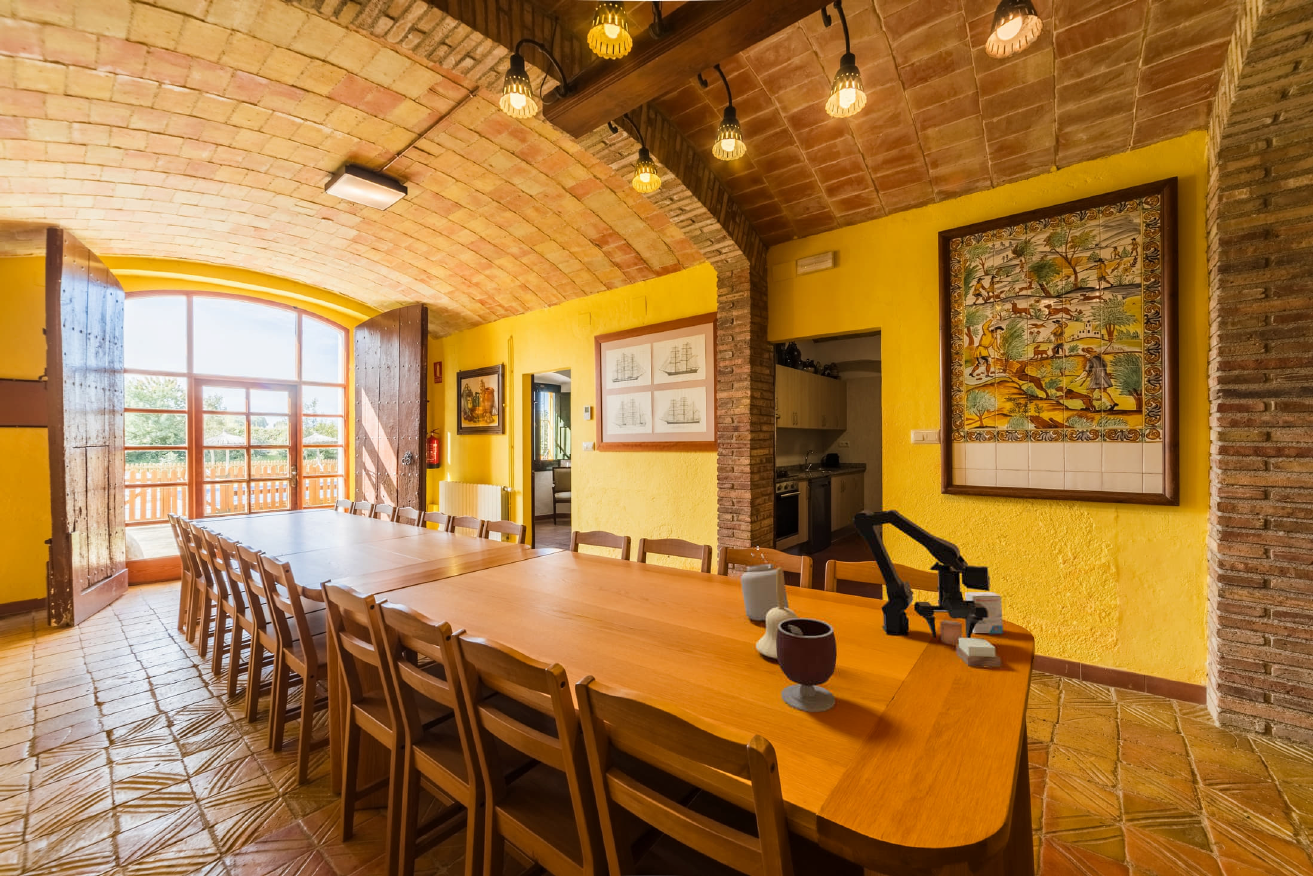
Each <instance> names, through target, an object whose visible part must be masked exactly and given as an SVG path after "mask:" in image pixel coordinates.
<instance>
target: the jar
mask: <svg viewBox="0 0 1313 876" xmlns="http://www.w3.org/2000/svg"><path fill="white" fill-rule="evenodd" d="M756 547H757V549H756V550H757V551H758V550H760V549H759V545H758V546H756ZM752 556H754V554H752ZM761 556H762V557H764V556H763V554H761ZM765 563H767V561H766V560H765ZM776 572H777V568H774V565H773V564H772V563H771V564H770V563H769V564H768V563H767V564H759V565H758V564H757V565H752V566H747V567H746V572H744V573H743V574H741V576H740V584H741V590H742V596H743V603H744V609H745V615H746V616H747V618H749V619H750V620H752V621H766V615H767V613H768V612H769V611H770V610H771V609H773V608H776V607H778V606H779V605H778V599H777V593H776ZM784 607H785V608H788V609H790V608H789V602H788V597H787V592H786V589H785V598H784Z"/></svg>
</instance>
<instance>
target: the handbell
mask: <svg viewBox="0 0 1313 876" xmlns="http://www.w3.org/2000/svg"><path fill="white" fill-rule="evenodd" d="M776 569H777V572H776V593H777V599H778V605H779V606H778V607H776V608H773V609H771V610H770V611H769V612H768V613H767V615H766V620H765V634H763V636H762V637H761V638H760V639H759V640H758V641H757V642H756V644H755V649H756V650H757V651H758V652H759V653H760V654H762V655H764V656H766V657H769V658H773V659H778V657H777V650H776V637H777V630H778V624H779V623H780V622H782V621H784V620H787V619H793V618H798V615H797V614H796V612H795V611H793V610H792V609H790V608H789V609H788V608H785V607H784V598H785V590H786V585H785V574H784V570H783V568H782V567H779V566H778V567H777V568H776Z"/></svg>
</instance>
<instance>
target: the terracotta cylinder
mask: <svg viewBox="0 0 1313 876" xmlns="http://www.w3.org/2000/svg"><path fill="white" fill-rule="evenodd" d="M962 628H963V627H962V623H961V622H958V621H955V620H948V619H946V620H940V642H942V641H943V642H944V643H943V642H942V643H943V644H945V643H947V644H946V645H949V644H954V645H953V646H956V644H958V645H959V638H963V632H962V630H963V629H962Z"/></svg>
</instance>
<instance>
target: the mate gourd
mask: <svg viewBox="0 0 1313 876" xmlns="http://www.w3.org/2000/svg"><path fill="white" fill-rule="evenodd" d="M834 632H835V631H834V628H833V626H832V625H831V624H829V623H828V622H827V621H823V620H819V619H815V618H807V617H806V618H803V617H797V618H793V619H787V620H784V621H782V622H780V623H779V624H778V630H777V637H776V650H777V657H778V658H777V662H778V665H779V668H780V670H781V671H782V673H783V674H784V675H785V677H786V678H787V679H789V680H790V682H793V683H796V684H792V685H791V684H790V685H788V686H786V687H785V688H783V689H782V690H781V700H782V699H783V700H784V701H783V700H782V701H783V703H784V702H786V703H787V704H788V705H790V706H791V707H790V706H789V707H790V708H792V707H793V708H792V709H795V708H797V709H798V711H801V710H803V711H802V712H807V711H809V713H819V712H820V711H821V712H825V711H829V710H830V709H831V707H832V708H833V707H834V706H833V705H835V703H836V700H835V696H834V693H832V692H831V691H829V690H828V689H826V688H823V687H822V686H821V685H823V684H825V683H827V682H828V681H829V679H830V678H831V677H832V676H833V675H834V673H835V670H836V666H837V665H836V664H837V656H838V655H837V654H838V653H837V652H838V651H837V650H838V649H837V642H836V636H835V633H834ZM819 685H820V686H819ZM787 704H786V705H787ZM788 705H787V706H788ZM797 709H796V710H797Z"/></svg>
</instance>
